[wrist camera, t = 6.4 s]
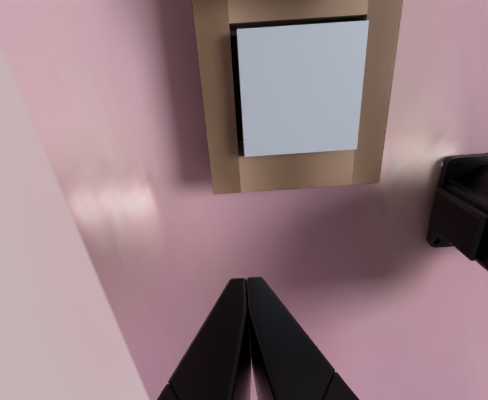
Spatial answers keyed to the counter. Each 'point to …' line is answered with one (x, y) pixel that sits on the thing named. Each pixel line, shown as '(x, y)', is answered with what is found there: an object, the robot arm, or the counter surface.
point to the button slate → (301, 87)
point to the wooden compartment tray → (223, 102)
